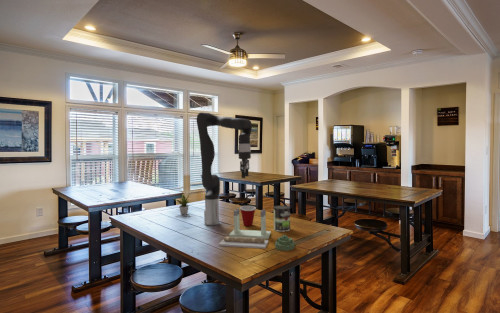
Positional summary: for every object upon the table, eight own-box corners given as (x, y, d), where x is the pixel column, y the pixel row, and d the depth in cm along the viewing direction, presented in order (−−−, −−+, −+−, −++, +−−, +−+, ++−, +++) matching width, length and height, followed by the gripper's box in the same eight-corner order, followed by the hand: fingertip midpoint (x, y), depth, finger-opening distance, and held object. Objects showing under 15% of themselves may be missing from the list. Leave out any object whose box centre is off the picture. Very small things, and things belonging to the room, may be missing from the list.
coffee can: (293, 230, 184) (293, 207, 183) (279, 232, 179) (279, 209, 178) (284, 226, 193) (283, 204, 192) (270, 228, 188) (270, 206, 187)
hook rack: (228, 237, 173) (228, 211, 172) (233, 231, 182) (233, 207, 182) (268, 239, 168) (267, 212, 167) (270, 233, 177) (270, 208, 177)
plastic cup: (245, 228, 189) (244, 209, 189) (237, 224, 199) (236, 206, 198) (259, 225, 195) (259, 207, 194) (251, 222, 204) (250, 204, 204)
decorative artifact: (297, 250, 150) (291, 243, 160) (296, 236, 150) (291, 230, 160) (277, 251, 149) (273, 245, 159) (277, 237, 148) (272, 231, 158)
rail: (223, 241, 162) (224, 236, 162) (225, 240, 164) (225, 236, 164) (263, 243, 157) (263, 238, 157) (264, 242, 159) (264, 238, 160)
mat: (218, 245, 158) (218, 243, 158) (224, 239, 168) (224, 238, 168) (265, 248, 153) (265, 246, 153) (268, 242, 163) (268, 240, 163)
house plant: (185, 210, 244) (185, 190, 243) (197, 212, 236) (197, 192, 235) (171, 214, 232) (171, 193, 231) (183, 216, 224) (183, 194, 223)
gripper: (241, 150, 192) (242, 175, 193) (235, 151, 178) (236, 178, 179) (252, 150, 191) (253, 175, 191) (247, 151, 177) (248, 178, 178)
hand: (245, 177), depth 185 cm, fingers open, 8 cm apart
